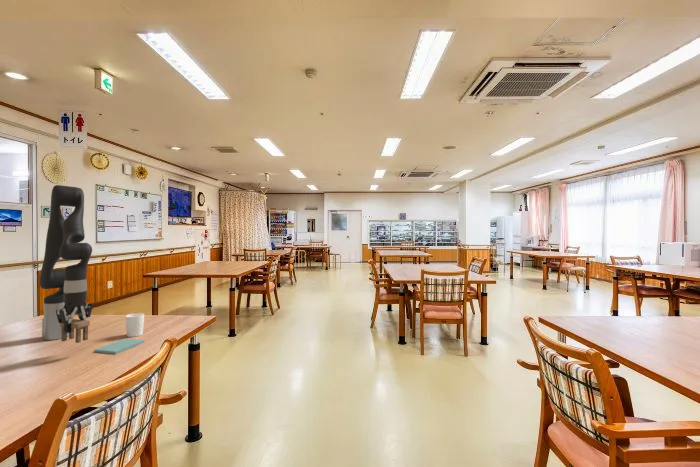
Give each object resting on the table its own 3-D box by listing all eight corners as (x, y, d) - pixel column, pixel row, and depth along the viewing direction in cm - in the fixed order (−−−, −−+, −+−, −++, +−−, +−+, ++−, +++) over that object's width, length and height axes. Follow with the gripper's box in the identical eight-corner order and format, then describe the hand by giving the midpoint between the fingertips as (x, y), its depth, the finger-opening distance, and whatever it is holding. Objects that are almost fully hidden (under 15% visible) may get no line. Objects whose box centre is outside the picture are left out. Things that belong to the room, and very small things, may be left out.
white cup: (135, 337, 160) (135, 317, 160) (121, 336, 162) (121, 316, 162) (147, 333, 168) (148, 313, 168) (134, 331, 170) (135, 312, 170)
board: (94, 351, 141) (94, 349, 141) (124, 340, 156) (124, 338, 156) (115, 354, 139) (115, 351, 139) (144, 342, 154) (144, 340, 154)
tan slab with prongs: (59, 341, 136) (60, 322, 136) (72, 337, 141) (72, 319, 141) (77, 343, 135) (77, 324, 135) (89, 339, 140) (89, 320, 139)
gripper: (85, 286, 145) (84, 325, 146) (49, 292, 131) (49, 335, 132) (99, 287, 144) (98, 326, 144) (64, 294, 130) (64, 336, 130)
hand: (74, 330), depth 138 cm, fingers closed on tan slab with prongs, 5 cm apart
